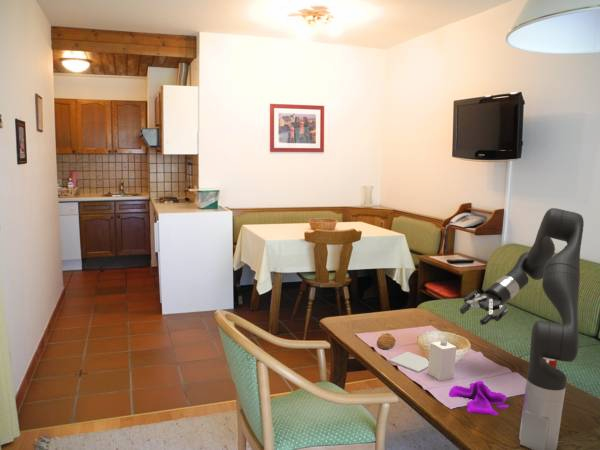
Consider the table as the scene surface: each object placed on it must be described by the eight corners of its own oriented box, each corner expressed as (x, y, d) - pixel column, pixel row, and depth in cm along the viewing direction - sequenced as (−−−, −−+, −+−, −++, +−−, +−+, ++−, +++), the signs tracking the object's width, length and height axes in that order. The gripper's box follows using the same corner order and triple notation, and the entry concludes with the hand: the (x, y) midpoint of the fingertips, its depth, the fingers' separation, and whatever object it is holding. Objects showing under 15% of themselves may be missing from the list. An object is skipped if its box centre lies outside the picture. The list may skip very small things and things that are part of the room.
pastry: (392, 351, 194) (393, 342, 194) (374, 349, 196) (375, 339, 195) (395, 343, 203) (396, 333, 202) (378, 340, 205) (379, 331, 204)
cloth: (480, 421, 148) (483, 401, 147) (435, 393, 164) (437, 374, 163) (532, 406, 158) (535, 387, 157) (485, 381, 174) (487, 363, 173)
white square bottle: (453, 377, 174) (456, 344, 172) (439, 380, 171) (443, 346, 169) (441, 370, 179) (444, 337, 177) (427, 373, 177) (430, 339, 175)
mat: (418, 372, 177) (418, 371, 176) (389, 361, 185) (389, 360, 185) (436, 363, 185) (436, 362, 185) (407, 352, 193) (407, 351, 193)
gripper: (484, 275, 184) (453, 300, 179) (519, 290, 173) (486, 318, 167) (487, 291, 188) (456, 316, 182) (521, 307, 176) (489, 334, 171)
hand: (470, 317), depth 175 cm, fingers open, 8 cm apart
